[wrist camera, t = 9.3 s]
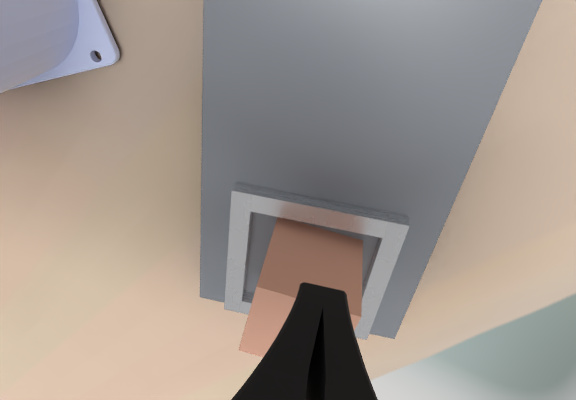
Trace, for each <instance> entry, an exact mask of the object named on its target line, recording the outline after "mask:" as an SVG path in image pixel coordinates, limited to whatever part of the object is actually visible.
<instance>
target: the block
mask: <svg viewBox="0 0 576 400" xmlns="http://www.w3.org/2000/svg"><path fill="white" fill-rule="evenodd" d="M362 263H363V240H360V239H356V238H353V237H349V236H346V235H342V234H339V233H336V232H332V231H329V230H325V229H322V228H318V227H315V226H312V225H308V224H305V223H301V222H298V221H294V220H291V219H286V218H281V217H278V218H277V221H276V224H275V227H274V231H273V234H272V237H271V240H270V244H269V247H268V250H267V254H266V257H265V260H264V263H263V267H262V270H261V273H260V277H259V280H258V283H257V286H256V290H255V294H254V297H253V301H252V304H251V308H250V311H249V315H248V318H247V322H246V325H245V329H244V333H243V336H242V340H241V343H240V347H239V350H240V351H243V352H247V353H250V354H254V355H257V356H261V357H264V356H265V354H266V353H267V351H268V349H269V348H270V346H271V345H272V343H273V342H274V340H275V339H276V337H277V335H278V333H279V332H280V330H281V328H282V326H283V324H284V323H285V321H286V319H287V317H288V315H289V313H290V311H291V309H292V307H293V304H294V302H295V299H296V297H297V294H298V291H299V286H300V284H301V283H303V282H306V283H311V284H315V285H320V286H324V287H329V288H333V289H338V290H342V291H345V293H346V294H347V300H348V306H349V312H350V316H351V321H352V325H353V329H354V330H355V328H356V326H357V324H358V323H359V321H360V319H361V314H362Z"/></svg>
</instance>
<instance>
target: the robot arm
mask: <svg viewBox="0 0 576 400" xmlns="http://www.w3.org/2000/svg"><path fill="white" fill-rule="evenodd" d="M95 51H97V52H99V53H100V55H101V58H102V59H101V60H100V59H98V58H97V57H96V55H95ZM119 57H120V53H119V49H118V47H117V45H116V43H115V40H114V38H113V36H112V34H111V31H110V29H109V27H108V25H107V23H106V20H105V18H104V16H103V14H102V11H101V9H100V7H99V5H98V2H97V0H0V94H1V93H3V92H5V91H7V90H10V89H14V88H18V87H22V86H26V85H31V84H35V83H39V82H43V81H47V80H51V79H55V78H59V77H63V76H68V75H72V74H76V73H80V72H84V71H88V70H92V69H96V68H100V67H105V66H109V65H112V64H114V63H115V62H117V61H118V60H119ZM231 400H378V399H377V397H376V394H375V392H374V390H373V387H372V384H371V382H370V379H369V376H368V374H367V371H366V368H365V365H364V362H363V359H362V356H361V353H360V350H359V346H358V343H357V340H356V336H355V333H354V329H353V325H352V321H351V316H350V312H349V306H348V300H347V294H346V293H345V291H342V290H338V289H333V288H329V287H324V286H320V285H315V284H311V283H306V282H303V283H301V284H300V286H299V291H298V294H297V297H296V299H295V302H294V304H293V307H292V309H291V311H290V313H289V315H288V317H287V319H286V321H285V323H284V324H283V326H282V328H281V330H280V332H279V333H278V335H277V337H276V339H275V340H274V342H273V343H272V345H271V346H270V348H269V349H268V351H267V353H266V354H265V356H264V357H263V359H262V360H261V362H260V363H259V364H258V366H257V367H256V369H255V370H254V371H253V373H252V374H251V376H250V377H249V378H248V379H247V381H246V382H245V383H244V385H243V386H242V387H241V389H240V390H239V391H238V392H237V393H236V395H235V396H234V397H233V398H232V399H231Z"/></svg>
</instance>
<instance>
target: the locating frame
mask: <svg viewBox="0 0 576 400" xmlns="http://www.w3.org/2000/svg"><path fill="white" fill-rule="evenodd" d="M253 212H256V213H261V214H266V215H271V216H276V217H281V218H286V219H291V220H296V221H300V222H305V223H310V224H315V225H320V226H325V227H330V228H335V229H340V230H345V231H350V232H355V233H360V234H365V235H370V236H375V237H379V239H378V242H377V246H376V249H375V252H374V255H373V258H372V261H371V264H370V267H369V270H368V273H367V276H366V279H365V282H364V285H363V288H362V314H361V319H360V321H359V323H358V324H357V326H356V328H355V330H354V333H355V336H356V338H360V339H365V340H367V338H368V335H369V332H370V330H371V327H372V324H373V322H374V319H375V317H376V314H377V311H378V309H379V306H380V303H381V301H382V298H383V295H384V293H385V290H386V287H387V285H388V282H389V279H390V277H391V274H392V271H393V269H394V266H395V264H396V261H397V258H398V256H399V253H400V250H401V248H402V245H403V242H404V240H405V237H406V234H407V232H408V229H409V226H410V225H409V217H408V216H406V215H401V214H396V213H391V212H386V211H381V210H376V209H371V208H366V207H360V206H355V205H350V204H345V203H340V202H335V201H330V200H325V199H320V198H315V197H310V196H305V195H300V194H295V193H290V192H285V191H280V190H275V189H269V188H264V187H259V186H254V185H249V184H244V183H239V182H236V183H235V185H234V187H233V189H232V192H231V208H230V224H229V240H228V256H227V272H226V288H225V304H224V309H226V310H231V311H235V312H240V313H244V314H249V311H250V308H251V304H252V301H253V297H254V294H255V293H252V292H247V291H245V288H246V278H247V268H248V258H249V248H250V238H251V228H252V218H253Z"/></svg>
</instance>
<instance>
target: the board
mask: <svg viewBox="0 0 576 400" xmlns="http://www.w3.org/2000/svg"><path fill="white" fill-rule="evenodd" d="M541 2H542V0H204V10H203V91H202V173H201V254H200V297H202V298H206V299H211V300H216V301H220V302H225V288H226V272H227V256H228V240H229V224H230V208H231V192H232V189H233V187H234V185H235V183H236V182H239V183H244V184H249V185H254V186H259V187H264V188H269V189H275V190H280V191H285V192H290V193H295V194H300V195H305V196H310V197H315V198H320V199H325V200H330V201H335V202H340V203H345V204H350V205H355V206H360V207H366V208H371V209H376V210H381V211H386V212H391V213H396V214H401V215H406V216H408V217H409V225H410V226H409V229H408V232H407V234H406V237H405V240H404V242H403V245H402V248H401V250H400V253H399V256H398V258H397V261H396V264H395V266H394V269H393V271H392V274H391V277H390V279H389V282H388V285H387V287H386V290H385V293H384V295H383V298H382V301H381V303H380V306H379V309H378V311H377V314H376V317H375V319H374V322H373V324H372V327H371V330H370V332H369V334H374V335H378V336H383V337H388V338H392V339H395V336H396V334H397V332H398V329H399V327H400V325H401V323H402V320H403V318H404V316H405V313H406V311H407V309H408V307H409V304H410V302H411V300H412V297H413V295H414V293H415V290H416V288H417V286H418V284H419V281H420V279H421V277H422V274H423V272H424V270H425V268H426V265H427V263H428V261H429V258H430V256H431V254H432V252H433V249H434V247H435V245H436V242H437V240H438V238H439V236H440V233H441V231H442V229H443V226H444V224H445V222H446V219H447V217H448V215H449V213H450V210H451V208H452V206H453V203H454V201H455V199H456V197H457V194H458V192H459V190H460V187H461V185H462V183H463V181H464V178H465V176H466V174H467V171H468V169H469V167H470V164H471V162H472V160H473V158H474V155H475V153H476V151H477V148H478V146H479V144H480V142H481V139H482V137H483V135H484V132H485V130H486V128H487V126H488V123H489V121H490V119H491V116H492V114H493V112H494V110H495V107H496V105H497V103H498V100H499V98H500V96H501V93H502V91H503V89H504V87H505V84H506V82H507V80H508V77H509V75H510V73H511V71H512V68H513V66H514V64H515V61H516V59H517V57H518V55H519V52H520V50H521V48H522V45H523V43H524V41H525V39H526V36H527V34H528V32H529V29H530V27H531V25H532V22H533V20H534V18H535V16H536V13H537V11H538V9H539V6H540V4H541ZM277 218H278V217H276V216H271V215H266V214H261V213H256V212H253V218H252V228H251V238H250V248H249V258H248V268H247V278H246V288H245V291H247V292H252V293H255V290H256V286H257V283H258V280H259V277H260V273H261V270H262V267H263V263H264V260H265V257H266V254H267V250H268V247H269V244H270V240H271V237H272V234H273V231H274V227H275V224H276V221H277ZM294 221H296V220H294ZM298 222H300V221H298ZM301 223H305V222H301ZM305 224H308V225H312V226H315V227H318V228H322V229H325V230H329V231H332V232H336V233H339V234H342V235H346V236H349V237H353V238H356V239H360V240H363V263H362V288H363V285H364V282H365V279H366V276H367V273H368V270H369V267H370V264H371V261H372V258H373V255H374V252H375V249H376V246H377V242H378V239H379V237H375V236H370V235H365V234H360V233H355V232H350V231H345V230H340V229H335V228H330V227H325V226H320V225H315V224H310V223H305Z"/></svg>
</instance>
